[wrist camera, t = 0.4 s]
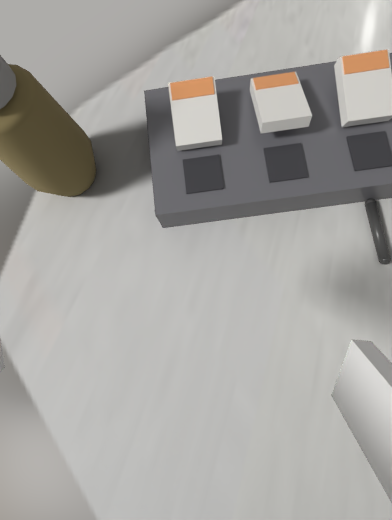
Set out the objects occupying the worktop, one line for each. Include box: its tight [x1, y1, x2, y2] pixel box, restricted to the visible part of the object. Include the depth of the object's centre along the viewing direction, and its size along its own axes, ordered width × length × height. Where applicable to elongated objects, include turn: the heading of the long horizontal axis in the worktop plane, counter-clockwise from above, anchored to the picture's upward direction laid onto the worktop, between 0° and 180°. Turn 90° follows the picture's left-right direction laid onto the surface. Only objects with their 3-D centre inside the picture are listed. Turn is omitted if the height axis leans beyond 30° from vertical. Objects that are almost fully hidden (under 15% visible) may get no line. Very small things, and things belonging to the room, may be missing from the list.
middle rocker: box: [250, 72, 312, 133], centre depth 27 cm, size 6×4×1 cm
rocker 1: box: [168, 76, 222, 151], centre depth 27 cm, size 6×4×1 cm
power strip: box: [144, 53, 392, 264], centre depth 29 cm, size 21×26×5 cm
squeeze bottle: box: [0, 55, 96, 197], centre depth 24 cm, size 8×8×18 cm
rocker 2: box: [334, 49, 392, 127], centre depth 27 cm, size 6×4×1 cm
